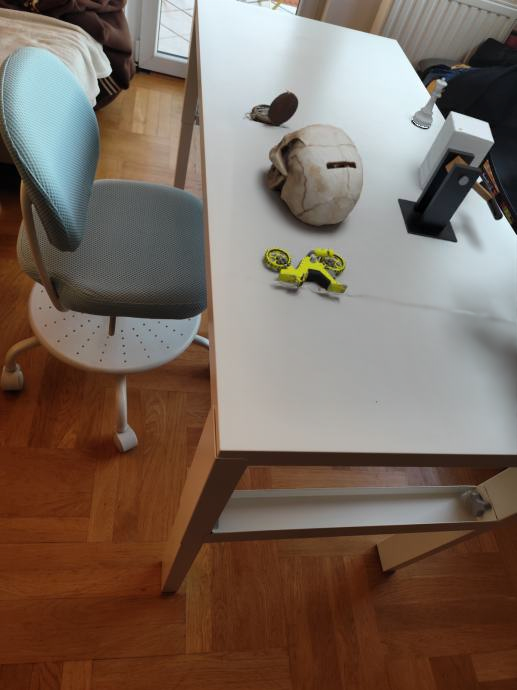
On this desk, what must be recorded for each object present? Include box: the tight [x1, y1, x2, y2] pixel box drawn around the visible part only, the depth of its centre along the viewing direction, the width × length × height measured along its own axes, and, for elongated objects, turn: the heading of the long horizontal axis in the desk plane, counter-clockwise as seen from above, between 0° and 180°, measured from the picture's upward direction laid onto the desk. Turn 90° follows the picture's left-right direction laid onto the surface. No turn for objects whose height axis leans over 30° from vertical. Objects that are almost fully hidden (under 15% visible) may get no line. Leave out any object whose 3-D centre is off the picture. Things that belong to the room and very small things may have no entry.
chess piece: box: [412, 77, 448, 127], centre depth 104 cm, size 4×4×10 cm
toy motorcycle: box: [263, 247, 349, 294], centre depth 67 cm, size 12×4×7 cm
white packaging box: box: [418, 110, 495, 191], centre depth 87 cm, size 7×7×13 cm
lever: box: [445, 156, 504, 221], centre depth 77 cm, size 11×9×2 cm
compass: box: [244, 89, 299, 127], centre depth 90 cm, size 8×8×7 cm
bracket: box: [397, 148, 483, 244], centre depth 79 cm, size 9×9×13 cm
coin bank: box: [266, 123, 364, 227], centre depth 76 cm, size 16×17×13 cm
